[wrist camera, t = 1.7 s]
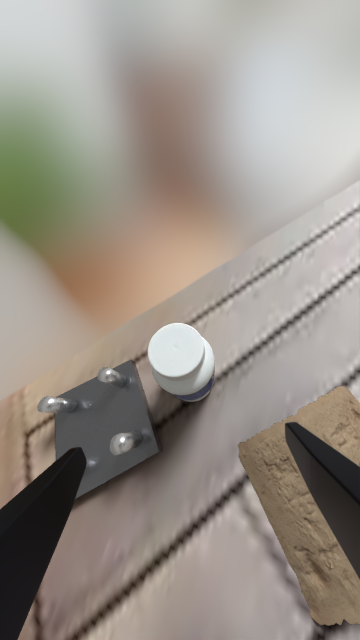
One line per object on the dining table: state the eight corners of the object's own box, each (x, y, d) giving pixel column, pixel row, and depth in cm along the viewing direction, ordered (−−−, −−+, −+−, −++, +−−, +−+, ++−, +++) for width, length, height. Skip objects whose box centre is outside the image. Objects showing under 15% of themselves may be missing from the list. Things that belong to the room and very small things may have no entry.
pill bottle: (223, 389, 19) (230, 365, 10) (179, 410, 18) (150, 404, 10) (201, 348, 21) (193, 303, 13) (162, 366, 21) (130, 332, 13)
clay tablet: (305, 621, 11) (329, 673, 9) (222, 448, 16) (224, 453, 14) (467, 507, 12) (525, 527, 10) (342, 379, 18) (361, 374, 15)
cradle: (162, 449, 17) (146, 459, 13) (67, 503, 16) (18, 531, 12) (134, 362, 22) (117, 349, 18) (62, 398, 21) (27, 394, 17)
